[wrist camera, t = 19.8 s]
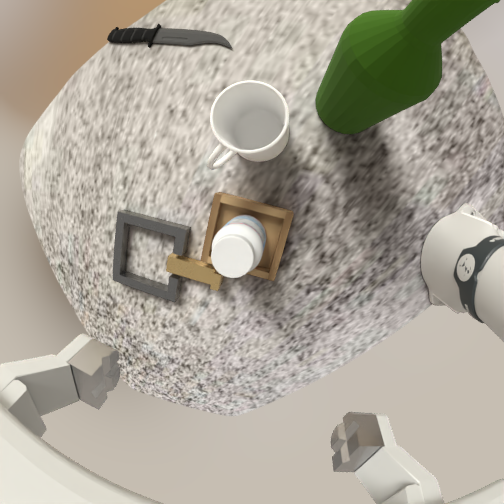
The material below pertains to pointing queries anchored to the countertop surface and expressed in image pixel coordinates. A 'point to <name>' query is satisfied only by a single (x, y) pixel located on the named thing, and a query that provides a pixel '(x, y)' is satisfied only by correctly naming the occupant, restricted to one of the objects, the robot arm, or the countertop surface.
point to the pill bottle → (238, 246)
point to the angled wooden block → (194, 270)
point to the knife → (165, 36)
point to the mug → (249, 122)
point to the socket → (120, 253)
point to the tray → (268, 215)
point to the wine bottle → (389, 61)
